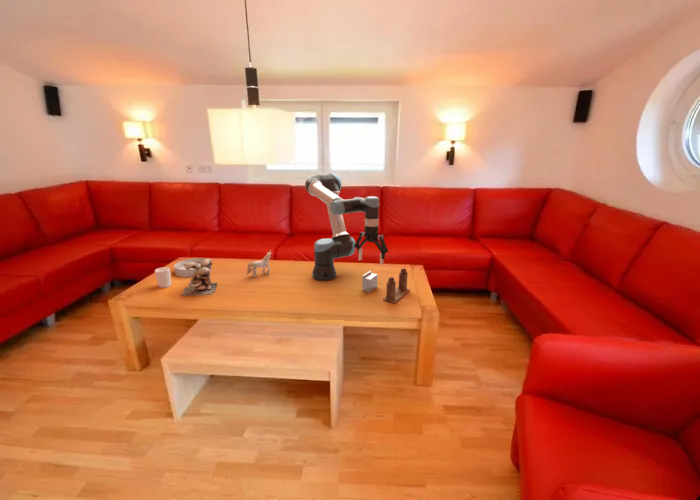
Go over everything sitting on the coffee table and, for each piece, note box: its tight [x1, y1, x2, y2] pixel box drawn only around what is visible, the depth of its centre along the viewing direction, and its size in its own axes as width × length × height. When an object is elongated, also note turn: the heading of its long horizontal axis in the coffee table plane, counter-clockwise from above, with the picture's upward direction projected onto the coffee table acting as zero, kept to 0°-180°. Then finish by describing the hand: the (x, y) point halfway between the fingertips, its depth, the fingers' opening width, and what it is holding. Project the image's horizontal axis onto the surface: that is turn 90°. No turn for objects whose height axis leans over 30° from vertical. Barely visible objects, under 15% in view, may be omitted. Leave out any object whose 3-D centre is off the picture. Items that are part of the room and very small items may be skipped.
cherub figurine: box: [181, 258, 218, 297], centre depth 203 cm, size 18×18×18 cm
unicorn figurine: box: [246, 249, 273, 278], centre depth 225 cm, size 7×20×13 cm, turn 138°
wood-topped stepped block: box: [361, 270, 379, 293], centre depth 206 cm, size 5×9×9 cm, turn 148°
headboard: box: [382, 267, 410, 304], centre depth 197 cm, size 7×19×14 cm, turn 148°
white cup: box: [154, 266, 172, 289], centre depth 209 cm, size 8×8×10 cm
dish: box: [174, 257, 213, 278], centre depth 232 cm, size 22×22×5 cm
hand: (370, 262), depth 202 cm, fingers open, 13 cm apart
